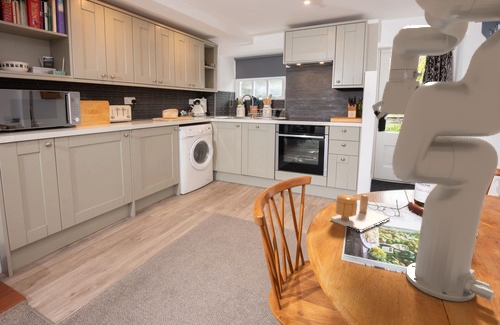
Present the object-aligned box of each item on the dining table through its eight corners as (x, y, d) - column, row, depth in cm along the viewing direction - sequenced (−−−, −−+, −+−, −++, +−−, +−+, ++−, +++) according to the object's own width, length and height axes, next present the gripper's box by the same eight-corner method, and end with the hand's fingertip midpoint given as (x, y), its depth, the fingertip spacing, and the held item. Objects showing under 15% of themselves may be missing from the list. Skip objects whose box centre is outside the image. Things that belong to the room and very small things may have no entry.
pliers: (421, 229, 91) (423, 221, 90) (406, 207, 110) (407, 200, 109) (464, 234, 88) (466, 226, 87) (440, 210, 107) (441, 203, 106)
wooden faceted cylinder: (348, 217, 89) (349, 202, 88) (332, 211, 94) (333, 196, 93) (359, 213, 93) (361, 198, 92) (343, 208, 97) (344, 193, 96)
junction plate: (389, 220, 96) (391, 199, 95) (360, 232, 87) (363, 210, 85) (359, 210, 105) (361, 191, 103) (330, 220, 95) (332, 199, 94)
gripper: (439, 76, 84) (430, 135, 88) (382, 78, 98) (376, 129, 102) (427, 74, 80) (419, 136, 84) (369, 77, 94) (364, 131, 97)
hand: (395, 132), depth 93 cm, fingers open, 9 cm apart
